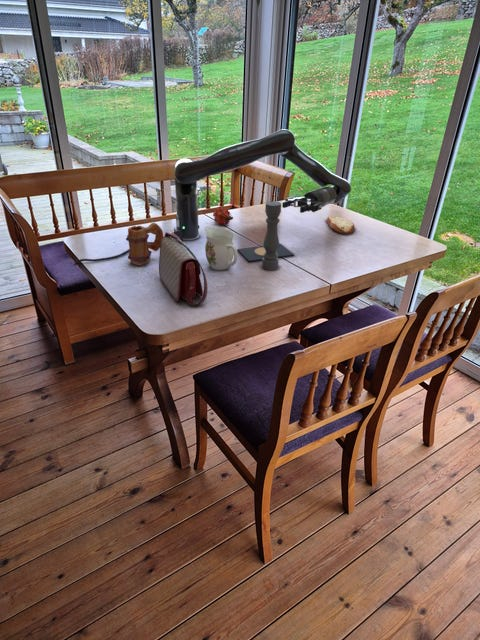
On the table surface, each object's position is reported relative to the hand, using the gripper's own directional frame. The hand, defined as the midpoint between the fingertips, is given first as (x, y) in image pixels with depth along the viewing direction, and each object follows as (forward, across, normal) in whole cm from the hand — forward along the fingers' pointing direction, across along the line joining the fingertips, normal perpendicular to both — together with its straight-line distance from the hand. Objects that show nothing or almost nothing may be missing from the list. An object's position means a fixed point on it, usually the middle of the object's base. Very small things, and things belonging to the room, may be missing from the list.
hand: (291, 207), depth 172 cm
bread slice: (-48, -8, +22) cm, 54 cm away
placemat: (+2, -11, +21) cm, 24 cm away
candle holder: (+11, 0, +21) cm, 24 cm away
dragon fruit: (-12, -50, +21) cm, 56 cm away
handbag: (+48, -8, +21) cm, 53 cm away
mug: (+42, -38, +21) cm, 60 cm away
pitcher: (+25, -13, +21) cm, 35 cm away
